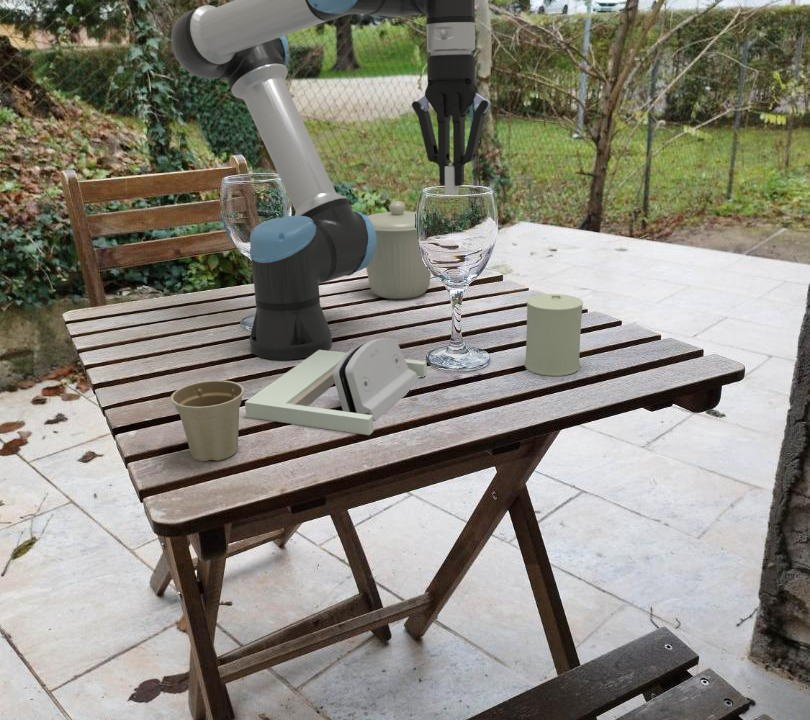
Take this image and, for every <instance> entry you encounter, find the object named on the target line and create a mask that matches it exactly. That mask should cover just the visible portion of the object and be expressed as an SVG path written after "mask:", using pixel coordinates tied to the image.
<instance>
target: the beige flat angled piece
mask: <svg viewBox="0 0 810 720" xmlns="http://www.w3.org/2000/svg"><path fill="white" fill-rule="evenodd" d="M346 353H347V352H343V351H336V350H335V351H333V350H327V351H326V350H318V351H317V352H315V353H314V354H312V355H311V356H310V357H307V358H304V360H303V361H301V362H300V363H298V364H297V365H295V366H294V367H292V368H291V369H290V370H288V371H287V372H285V373H284V374H283V375H281V376H280V377H278V378H277V379H276V380H274V381H273V382H271V383H269V384H268V385H267V386H265V387H264V388H263V389H261V390H260V391H259V392H257V393H256V394H254V395H253V396H252V397H250V398H248V399H247V400H246V401H244V409H245V415H246V416H245V417H246V418H251V419H256V420H257V419H258V420H264V421H265V420H266V421H270V422H271V421H272V422H278V423H285V424H291V425H296V426H297V425H298V426H304V427H311V428H318V429H325V430H330V431H337V432H344V431H345V433H353V434H357V433H358V434H359V435H365V436H370V435H371V434H372V433H373V432H374V421H373V415H369V414H368V413H365V414H359V413H352V412H345V411H343V410H338V409H337V410H336V409H330V408H323V407H315V406H309V405H310V404H312V403H313V402H314V401H315V400H316V399H318V398H319V397H320V396H321V395H323V394H324V393H325V392H326V391H327V390H329V389H330V388H331V387H332V386H333V385H334V384H335V382H334V378H333V371H334V370H335V368H336V366H337V364H338V363H339V361H340V360H341V359H342V357H343V356H344V355H345V354H346ZM404 359H405V361H406V363H407V365H408V368H409V369H410V370H412V371H414V372H416V374H417V376H420V377H424V376H425V375H426V374H427V375H428V365H427V360H426V361H425V360H418V359H408V358H404ZM427 375H426V376H427ZM426 376H425V377H426ZM425 377H424V378H425ZM307 405H308V406H307Z"/></svg>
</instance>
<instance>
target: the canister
mask: <svg viewBox="0 0 810 720" xmlns="http://www.w3.org/2000/svg"><path fill="white" fill-rule="evenodd" d="M388 207H389V208H388V209H389V211H385V212H378V213H373V214H370V215H366V216H367V217H368V218H369V219H370V221H371V222H372V224H373V226H374V229H375V233H376V240H377V243H376V249H375V251H374V257H373V259H372V261H371V262H370V263H369V265H368V266H366V267H365V268H366V274H367V279H368V284H369V288H370V289H371V291H372V293H374V295H376V296H378V297H380V298H382V299H389V300H405V299H407V300H408V299H412V298H416V297H419V296H421V295H424V294H426V292H427V290H428V288H429V286H430V283H431V274H432V272H431V273H430V271H429V270H428V269H427V267H426V266H425V264H424V262H423V260H422V256H421V253H420V249H419V244H418V239H417V234H416V228H415V214H416V212H417V211H406V205H405V203H404V202H402V201H400V200H396V201H392V202H391V203H390V204H389V206H388Z"/></svg>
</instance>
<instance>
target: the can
mask: <svg viewBox="0 0 810 720" xmlns="http://www.w3.org/2000/svg"><path fill="white" fill-rule="evenodd" d="M583 306H584V302H583V300H582V298H579V297H576V296H573V295H570V294H569V295H568V294H563V293H562V294H560V293H543V294H537V295H534V296H530V297H529V298H527V300H526V338H525V341H526V342H525V345H526V347H525V359H524V360H525V361H524V368H525V367H526V368H525V369H526V370H527V371H529V372H530V371H531V373H533V374H535V373H536V375H539V374H540V375H541V376H544V375H546V376H545V377H563V376H564V375H565V376H569V374H570V375H573V374H575V373H577V372H578V371H580V367H581V366H580V349H581V347H580V346H581V333H582V332H581V330H582V316H583V315H582V314H583V313H582V312H583ZM576 371H577V372H576ZM574 372H575V373H574ZM572 373H573V374H572Z"/></svg>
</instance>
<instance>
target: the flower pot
mask: <svg viewBox="0 0 810 720" xmlns="http://www.w3.org/2000/svg"><path fill="white" fill-rule="evenodd" d="M244 395H245V387H244V386H243V385H242V384H240V383H238V382H235V381H230V380H225V379H224V380H222V379H221V380H220V379H219V380H218V379H217V380H216V379H215V380H205V381H203V380H202V381H199V382H198V381H196V382H194V383H191V384H190V383H189V384H187V385H185V386H184V385H183V386H182V387H180V388H178V389H177V390H175V391H174V392H173V393H172V394H171V395H170V401H171V403H172V405H174V406H175V409H176V412H177V413H178V414H179V416H180V420H181V424H182V427H183V430H184V433H185V438H186V442H187V445H188V448H189V451H190V455H191V457H192V458H193V459H195V460H197V461H200V462H207V461H210V460H213V461H222V460H225V459H227V458H230V457H231V456H233V455H235V454H236V453H237V450H238V448H239V429H240V428H239V426H240V406H241V405H242V400H243V399H242V397H243V396H244Z"/></svg>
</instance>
